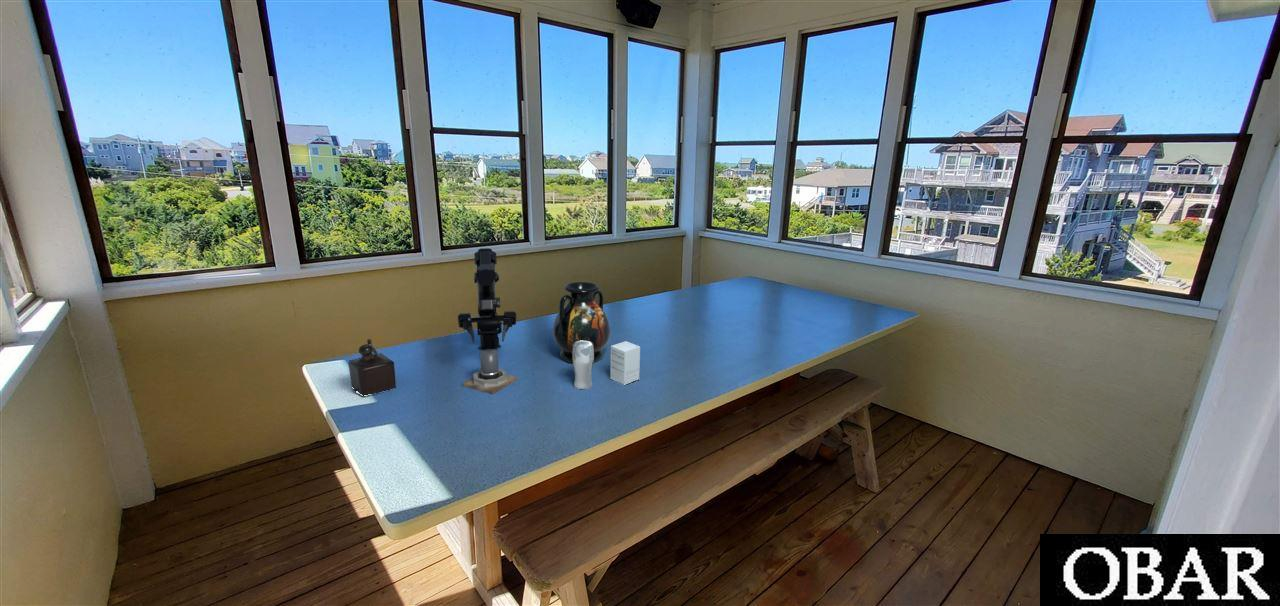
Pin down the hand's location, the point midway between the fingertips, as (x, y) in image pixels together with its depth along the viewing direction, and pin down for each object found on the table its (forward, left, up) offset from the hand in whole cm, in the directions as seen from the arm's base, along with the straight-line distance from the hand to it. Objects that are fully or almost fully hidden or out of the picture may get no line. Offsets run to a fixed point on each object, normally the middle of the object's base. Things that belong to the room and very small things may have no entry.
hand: (488, 341), depth 170 cm
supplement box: (+40, +22, -14) cm, 48 cm away
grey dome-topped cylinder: (+2, -2, -12) cm, 13 cm away
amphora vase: (+16, +33, -14) cm, 39 cm away
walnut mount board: (+2, -2, -13) cm, 14 cm away
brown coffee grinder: (-25, -24, -14) cm, 37 cm away
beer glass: (+30, +11, -14) cm, 35 cm away
